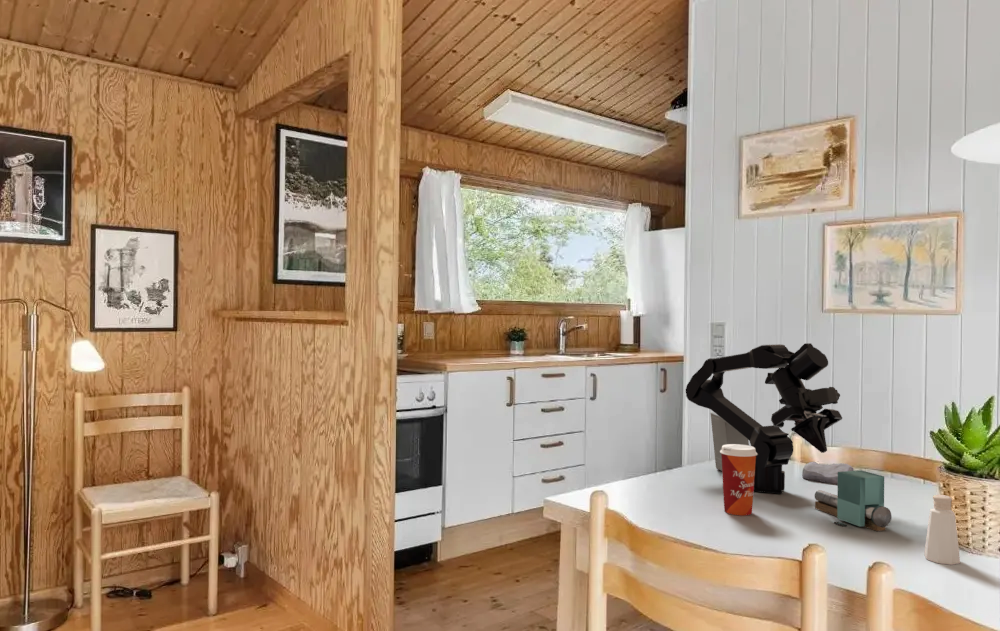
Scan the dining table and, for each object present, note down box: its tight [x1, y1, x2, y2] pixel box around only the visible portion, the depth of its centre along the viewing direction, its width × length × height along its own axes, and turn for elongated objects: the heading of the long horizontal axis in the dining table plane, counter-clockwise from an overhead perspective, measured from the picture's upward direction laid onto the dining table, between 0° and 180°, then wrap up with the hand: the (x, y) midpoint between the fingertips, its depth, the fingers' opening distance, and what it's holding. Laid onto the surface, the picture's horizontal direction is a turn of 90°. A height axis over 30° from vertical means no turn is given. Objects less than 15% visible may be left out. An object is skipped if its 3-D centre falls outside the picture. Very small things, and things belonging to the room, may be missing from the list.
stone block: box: [801, 461, 855, 485], centre depth 186 cm, size 12×5×10 cm
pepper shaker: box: [923, 494, 961, 566], centre depth 124 cm, size 5×5×11 cm
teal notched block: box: [836, 469, 885, 527], centre depth 146 cm, size 6×6×10 cm
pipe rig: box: [814, 489, 892, 532], centre depth 149 cm, size 18×11×5 cm, turn 17°
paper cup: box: [720, 444, 757, 517], centre depth 154 cm, size 8×8×14 cm
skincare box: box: [709, 411, 750, 472], centre depth 193 cm, size 8×7×16 cm
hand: (824, 451), depth 158 cm, fingers closed
